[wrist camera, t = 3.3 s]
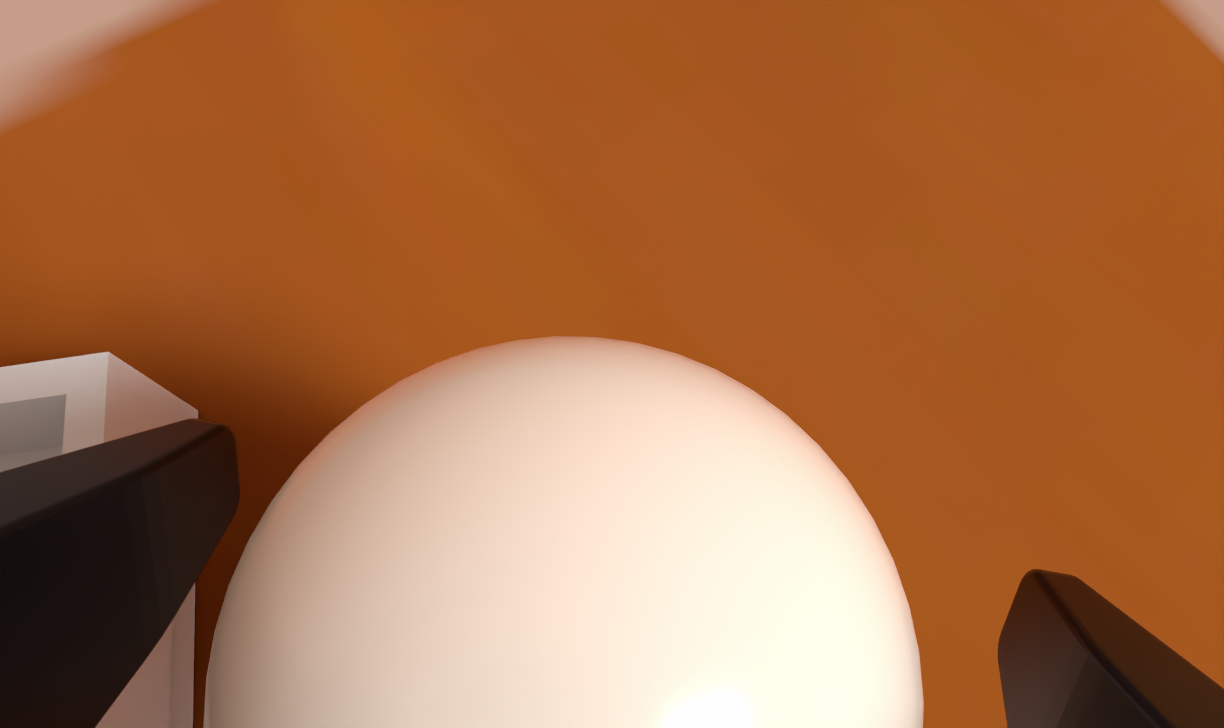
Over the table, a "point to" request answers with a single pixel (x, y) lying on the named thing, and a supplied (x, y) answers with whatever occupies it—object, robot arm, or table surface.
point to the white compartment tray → (86, 416)
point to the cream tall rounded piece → (566, 561)
